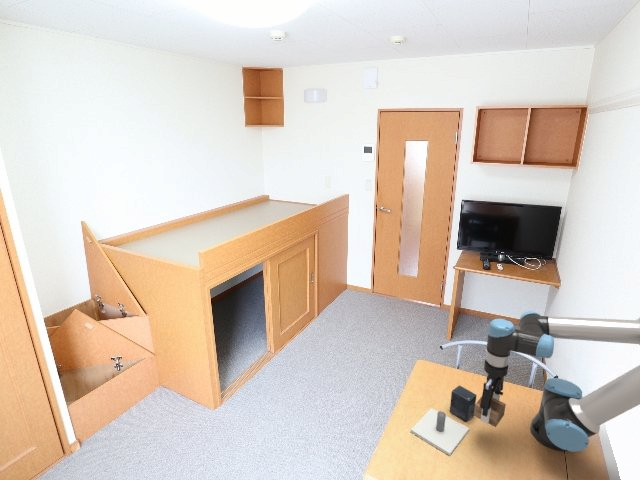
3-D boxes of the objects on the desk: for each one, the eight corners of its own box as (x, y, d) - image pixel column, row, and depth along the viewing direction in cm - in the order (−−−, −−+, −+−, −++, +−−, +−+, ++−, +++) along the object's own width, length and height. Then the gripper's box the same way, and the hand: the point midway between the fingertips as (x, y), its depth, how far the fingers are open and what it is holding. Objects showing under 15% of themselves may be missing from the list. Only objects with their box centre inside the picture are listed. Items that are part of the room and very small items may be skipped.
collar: (504, 415, 142) (505, 403, 140) (495, 427, 136) (497, 415, 135) (482, 404, 147) (483, 393, 146) (473, 415, 142) (475, 404, 140)
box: (473, 416, 157) (477, 394, 153) (466, 422, 153) (469, 401, 150) (456, 405, 162) (459, 384, 159) (449, 411, 159) (451, 390, 156)
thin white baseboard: (468, 430, 149) (471, 413, 147) (449, 456, 138) (452, 437, 136) (431, 410, 160) (432, 393, 157) (410, 432, 149) (412, 414, 146)
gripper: (496, 345, 144) (490, 396, 151) (473, 371, 130) (467, 425, 137) (518, 353, 139) (510, 405, 146) (496, 380, 125) (488, 436, 132)
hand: (489, 415), depth 141 cm, fingers closed on collar, 8 cm apart
